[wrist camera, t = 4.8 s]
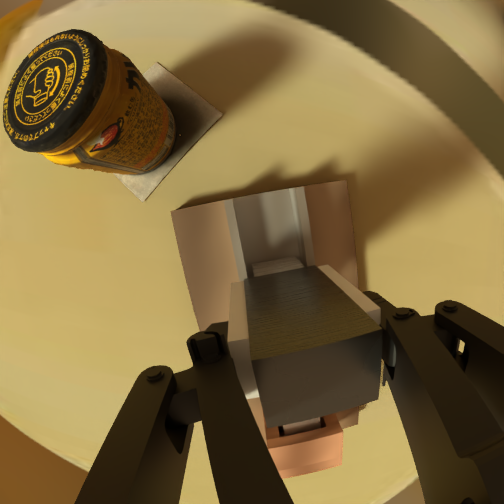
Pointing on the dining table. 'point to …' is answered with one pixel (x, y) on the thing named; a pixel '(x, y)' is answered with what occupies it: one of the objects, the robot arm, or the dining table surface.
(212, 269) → the rail slide board
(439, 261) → the dining table surface
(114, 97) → the condiment
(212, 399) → the robot arm
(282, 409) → the mallet
